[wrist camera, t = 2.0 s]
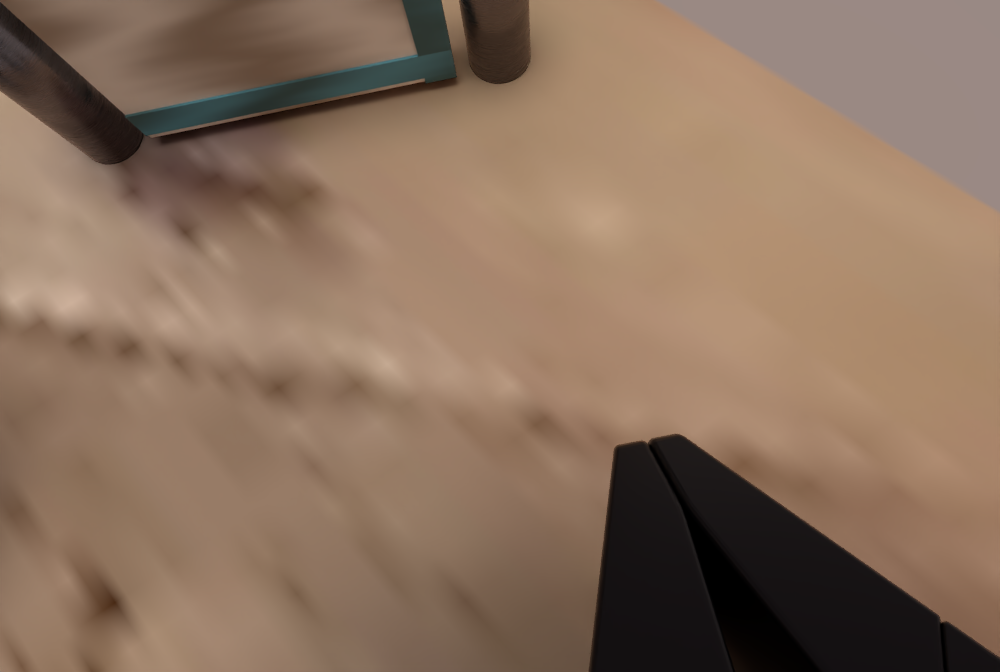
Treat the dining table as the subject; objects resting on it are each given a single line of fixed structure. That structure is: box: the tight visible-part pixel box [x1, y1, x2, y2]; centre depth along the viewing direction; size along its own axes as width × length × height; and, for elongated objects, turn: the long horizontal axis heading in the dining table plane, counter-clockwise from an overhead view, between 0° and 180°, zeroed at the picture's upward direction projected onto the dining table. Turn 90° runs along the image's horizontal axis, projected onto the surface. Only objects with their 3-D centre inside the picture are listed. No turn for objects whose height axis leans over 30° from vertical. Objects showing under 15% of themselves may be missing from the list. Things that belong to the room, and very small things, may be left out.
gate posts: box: [0, 0, 530, 164], centre depth 21 cm, size 18×2×8 cm, turn 101°
